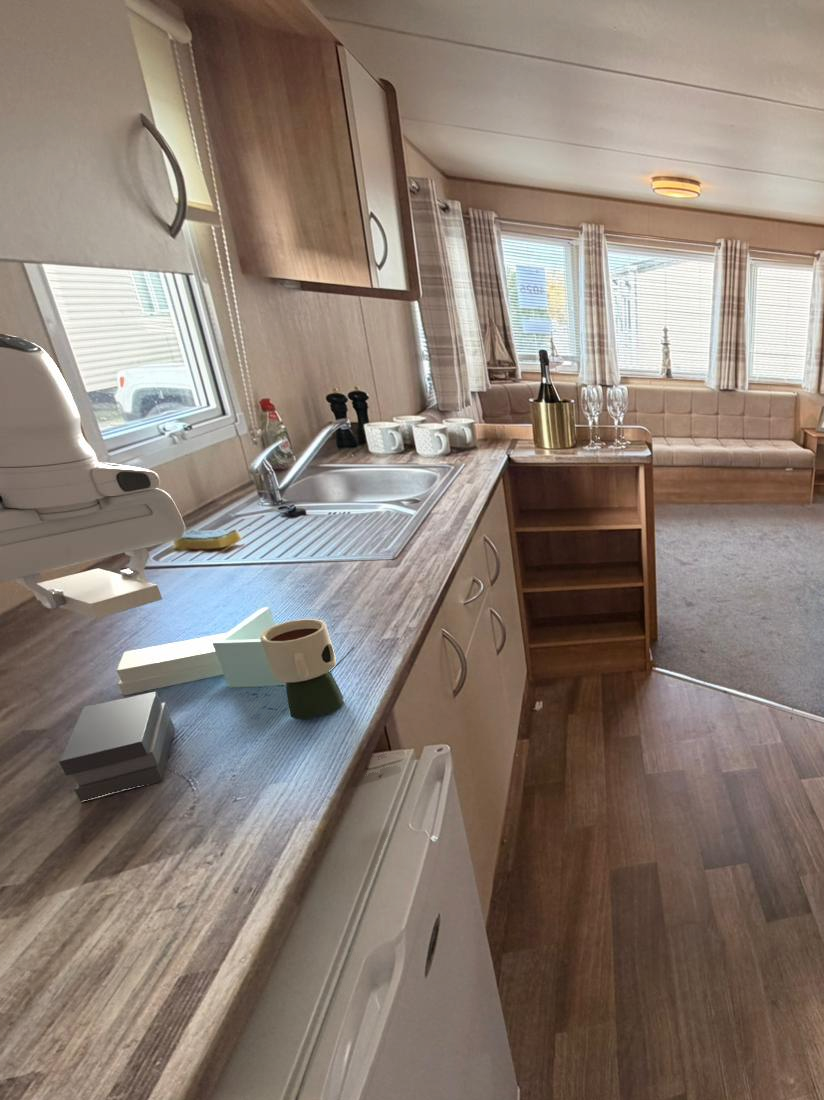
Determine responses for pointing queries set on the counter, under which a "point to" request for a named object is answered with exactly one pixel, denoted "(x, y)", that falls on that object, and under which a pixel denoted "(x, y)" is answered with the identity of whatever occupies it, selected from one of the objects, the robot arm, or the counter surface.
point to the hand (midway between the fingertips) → (98, 593)
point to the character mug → (304, 666)
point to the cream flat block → (102, 592)
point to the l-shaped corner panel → (246, 652)
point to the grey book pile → (119, 745)
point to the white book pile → (168, 665)
